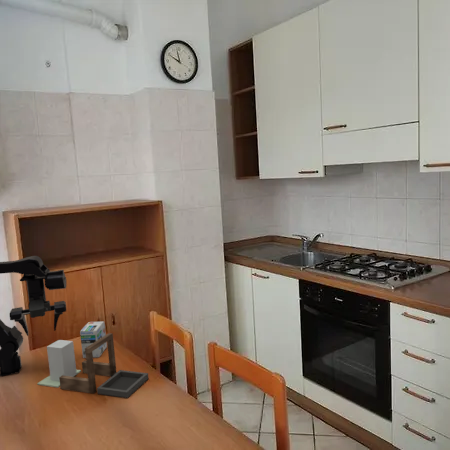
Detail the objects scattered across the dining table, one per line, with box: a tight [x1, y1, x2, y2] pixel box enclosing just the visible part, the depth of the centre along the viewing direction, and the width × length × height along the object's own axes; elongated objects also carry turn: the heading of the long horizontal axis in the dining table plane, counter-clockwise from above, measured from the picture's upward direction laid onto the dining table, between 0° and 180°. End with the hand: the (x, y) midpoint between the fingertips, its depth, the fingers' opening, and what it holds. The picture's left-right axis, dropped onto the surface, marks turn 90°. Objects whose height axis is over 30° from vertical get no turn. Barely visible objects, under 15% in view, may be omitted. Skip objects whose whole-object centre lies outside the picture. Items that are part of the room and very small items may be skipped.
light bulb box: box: [79, 321, 108, 359], centre depth 176 cm, size 11×7×11 cm, turn 179°
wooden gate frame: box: [59, 332, 118, 394], centre depth 151 cm, size 13×13×15 cm
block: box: [46, 339, 78, 381], centre depth 155 cm, size 6×6×12 cm
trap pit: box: [96, 369, 150, 399], centre depth 147 cm, size 11×13×2 cm
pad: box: [37, 369, 82, 388], centre depth 157 cm, size 8×12×1 cm
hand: (41, 332), depth 165 cm, fingers open, 9 cm apart
